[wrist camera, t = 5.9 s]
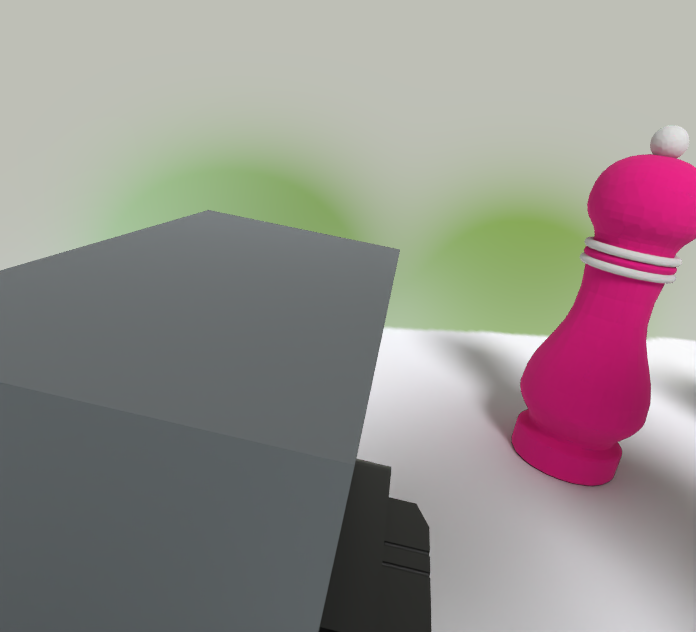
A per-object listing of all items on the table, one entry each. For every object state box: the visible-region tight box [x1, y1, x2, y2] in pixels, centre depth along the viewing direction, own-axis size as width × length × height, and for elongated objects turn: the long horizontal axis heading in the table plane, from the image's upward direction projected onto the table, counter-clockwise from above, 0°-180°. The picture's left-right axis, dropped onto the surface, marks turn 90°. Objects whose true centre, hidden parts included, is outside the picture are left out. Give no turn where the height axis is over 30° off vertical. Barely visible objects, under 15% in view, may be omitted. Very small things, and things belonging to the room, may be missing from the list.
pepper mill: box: [512, 125, 696, 486], centre depth 32 cm, size 7×7×20 cm
